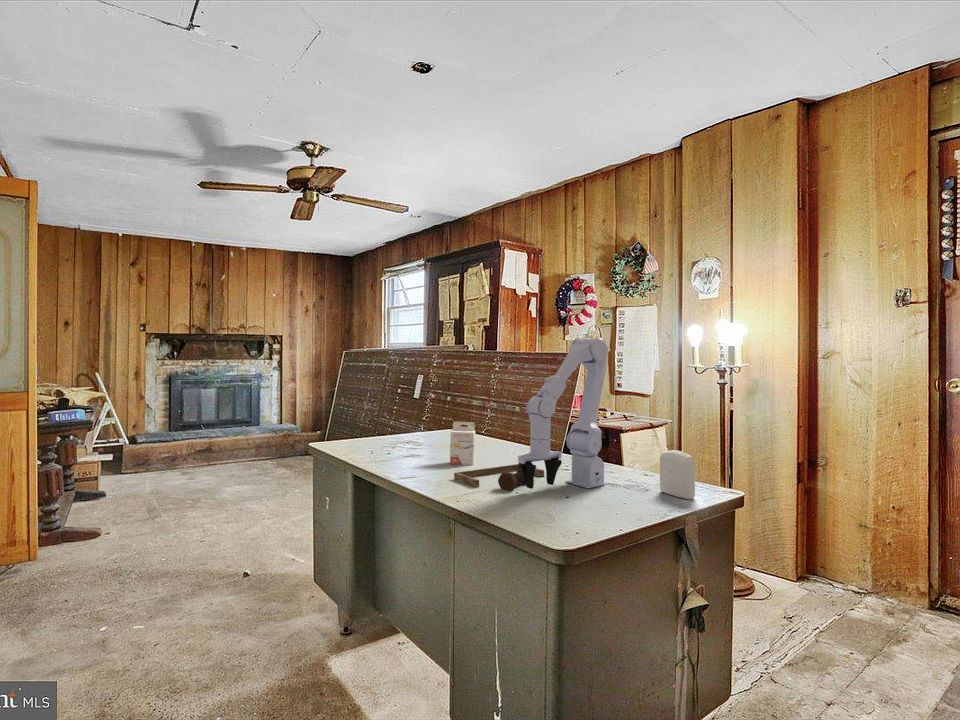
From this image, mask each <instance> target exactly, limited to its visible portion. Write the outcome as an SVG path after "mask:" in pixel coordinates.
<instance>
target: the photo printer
mask: <svg viewBox="0 0 960 720" xmlns="http://www.w3.org/2000/svg"><path fill="white" fill-rule="evenodd" d="M695 466H696V464H695V458H694V457H693V456H692V455H690V454H688V453H686V452H685V451H681V450H676V449H672V450H671V449H670V450H665V451H662V452H661V454H660V456H659V490H660V492H661V493H663V492H664V494H668V495H671V496H673V497H676V498H677V497H678V498H681V499H684V500H693V499H694V498H695V497H696V486H695V485H696V483H695V482H696V481H695V480H696V478H695V477H696V476H695V475H696V474H695V471H696V469H695Z"/></svg>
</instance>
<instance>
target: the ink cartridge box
mask: <svg viewBox="0 0 960 720" xmlns="http://www.w3.org/2000/svg"><path fill="white" fill-rule="evenodd" d="M475 424H476V423H475V422H472V421H469V422H468V421H453V422H452V430H451V431H450V446H449V447H450V449H449V451H450V453H449V463H450V464H449V465H453V464H454V465H455V466H456V465H459V466H474V465H475V463H476V431H475V429H476V425H475ZM463 425H464V426H463Z"/></svg>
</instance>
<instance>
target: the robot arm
mask: <svg viewBox="0 0 960 720" xmlns="http://www.w3.org/2000/svg"><path fill="white" fill-rule="evenodd" d="M608 352H609V347H608V345H607V343H606V342H605V340H604V339H603V338H602V337H590V338H589V337H588V338H587V337H586V338H580V337H577V338H574V340H573V341H572V342H571V344H570V345H569V346H568V353H567V354H566V356H565V358H564V359H563V362H562V363H561V365H560V366H559V368H558V370H557V372H556V373H555V374H554V375H553V374H552V375H549V376H547V377H546V378H545V380H544V381H545V382H544V383H543V385H542V386H541V388H540V389H539V390H538V391H537V393H536V395H533V396H531V398H529V400H527V401H528V402H527V404H526V406H525V409H526V412H527V414H528V419H529V421H530V423H529V424H530V427H529V428H530V434H529V435H530V437H529V439H530V440H529V441H530V442H529V443H530V445H529V449H530V450H529V452H528V453H524V454H522V455H518V456H517V459H518V460H517V464H519V467H520V468H521V470H522V473H523V475H524V478H525V482H526V484H525V485H526V488H527V489H532V490H533V489H534V482H535V475H534V473H535V469H536V468H537V465H536V464H533V463H534V462H542V461H543V462H544V467H545V471H546V472H545V474H546V477H545V478H546V483H547V485H550V486H553V485H554V483H555V480H556V477H557V473H558V471H559V469H560V467H561V465H562V451H558V450H554V451H551V423H552V422H551V421H552V420H551V418H552V416H553V414H554V413H555V412H556V405H557V403H558V400H559V398H560V397H561V395H562V394H563V392H564V391H565V389H566V388H567V385H566V384H567V383H566V381H567V380H568V379H569V377H570V376H571V375H572V374H573V372H574V371H575V370H576V369H577V367H578V366H579V365H580V364H581V365H582V366H583V367H584V368H585V369H586V377H585V381H584V386H583V392H582V397H581V401H580V408H579V413H578V418H577V421H575V422H574V423H573V424H571V426H570V430H569V432H568V434H567V435H566V446H567V448H568V449H569V451H570V452H569V453H571V479H565V483H568V484H571V485H574V486H577V487H582V488H585V489H590V488H596V487H602V486H606V485H607V484H606V482H605V462H604V461H603V459H602V458H601V457H600V456H599V457H598V455H599V452H600V451H601V449H602V446H603V445H602V443H603V442H602V433H603V432H602V430H601V429H600V427H599V426H598V425H597V421H598V415H599V408H600V403H601V399H602V393H603V389H604V382H605V378H606V377H605V376H606V371H607V358H608Z"/></svg>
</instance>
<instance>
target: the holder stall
mask: <svg viewBox="0 0 960 720" xmlns="http://www.w3.org/2000/svg"><path fill="white" fill-rule="evenodd" d="M519 469H521V468H520V467H519V463H516V464H514V463H513V464H509V465H500V466H493V467H488V468H487V467H486V468H480V469H479V468H478V469H473V470H465V471H464V470H463V471H458V472H454V473H453V476H454V477H453V479H454V480H455V479H456V480H455V481H458V480H459V481H458V482H460V481H461V482H460V483H463V482H464V483H463V484H466V485H468V484H469V486H471V485H472V487H474V488H479V487H480V480H479V479H477V477H484V476H490V475H491V474H492V475H497V473H499V474H502V472H508V473H512V472H518V471H517V470H519ZM511 471H512V472H511ZM534 474H535V475H534V476H537V475H538V477H540V476H544V477H545V469H541V468H537V467H536V469H535V473H534ZM492 475H491V476H492Z"/></svg>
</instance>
